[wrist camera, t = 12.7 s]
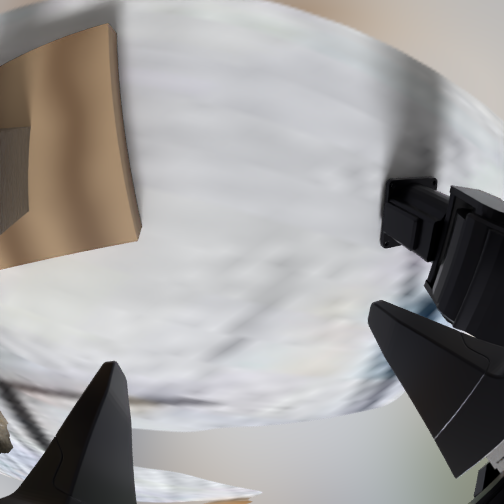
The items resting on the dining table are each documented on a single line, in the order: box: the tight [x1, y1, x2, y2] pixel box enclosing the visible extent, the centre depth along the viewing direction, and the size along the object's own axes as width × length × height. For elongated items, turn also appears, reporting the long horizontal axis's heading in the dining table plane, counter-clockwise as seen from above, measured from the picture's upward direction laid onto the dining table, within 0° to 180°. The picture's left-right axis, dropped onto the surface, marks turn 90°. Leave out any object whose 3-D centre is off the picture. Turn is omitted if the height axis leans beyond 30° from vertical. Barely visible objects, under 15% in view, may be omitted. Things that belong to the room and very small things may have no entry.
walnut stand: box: [0, 23, 142, 270], centre depth 14 cm, size 18×14×2 cm
